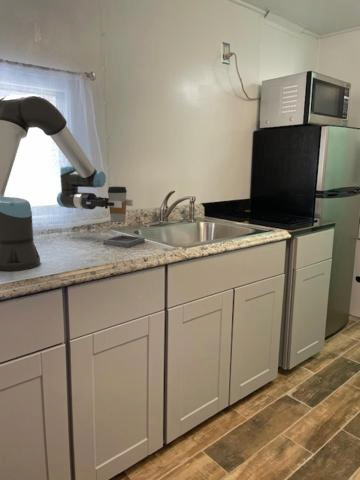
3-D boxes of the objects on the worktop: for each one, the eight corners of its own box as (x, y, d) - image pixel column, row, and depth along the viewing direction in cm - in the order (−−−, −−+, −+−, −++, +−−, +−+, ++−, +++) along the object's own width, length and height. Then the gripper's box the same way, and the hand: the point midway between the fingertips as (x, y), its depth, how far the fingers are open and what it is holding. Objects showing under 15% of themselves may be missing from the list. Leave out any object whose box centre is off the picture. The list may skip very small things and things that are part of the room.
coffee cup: (124, 222, 160) (123, 187, 157) (105, 222, 162) (104, 187, 159) (129, 220, 168) (129, 186, 165) (112, 219, 170) (111, 186, 167)
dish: (127, 247, 158) (127, 242, 158) (103, 244, 164) (103, 239, 164) (144, 242, 169) (144, 237, 169) (121, 239, 175) (121, 234, 175)
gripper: (100, 206, 181) (140, 209, 171) (70, 211, 164) (112, 215, 153) (100, 191, 180) (139, 193, 169) (69, 194, 162) (111, 196, 152)
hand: (126, 203), depth 161 cm, fingers closed on coffee cup, 7 cm apart
